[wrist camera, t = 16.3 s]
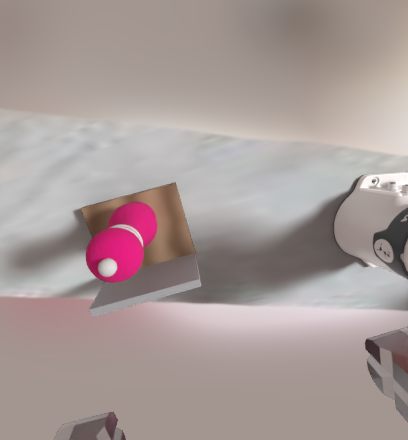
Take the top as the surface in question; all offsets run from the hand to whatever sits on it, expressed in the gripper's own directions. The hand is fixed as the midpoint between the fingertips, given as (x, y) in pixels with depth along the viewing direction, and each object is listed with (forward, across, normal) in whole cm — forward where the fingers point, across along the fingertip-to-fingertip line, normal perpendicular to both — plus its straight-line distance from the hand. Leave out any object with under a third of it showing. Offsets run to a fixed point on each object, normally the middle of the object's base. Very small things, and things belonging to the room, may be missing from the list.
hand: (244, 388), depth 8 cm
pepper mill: (+37, -10, -1) cm, 38 cm away
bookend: (+39, -10, -4) cm, 40 cm away
